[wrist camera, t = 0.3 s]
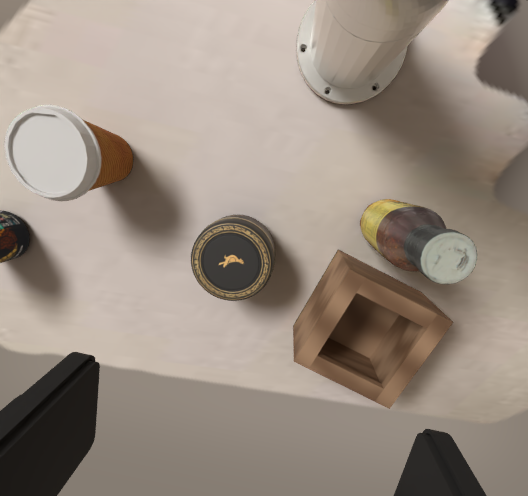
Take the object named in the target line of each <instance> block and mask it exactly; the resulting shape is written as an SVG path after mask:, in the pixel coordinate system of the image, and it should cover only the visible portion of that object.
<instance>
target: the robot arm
mask: <svg viewBox="0 0 528 496" xmlns="http://www.w3.org/2000/svg"><path fill="white" fill-rule="evenodd" d="M448 1H449V0H314V2H313V3H312V4H311V5H310V7H309V8H308V10H307V11H306V13H305V15H304V17H303V19H302V22H301V24H300V27H299V31H298V36H297V45H296V51H297V61H298V65H299V69H300V72H301V74H302V76H303V78H304V80H305V82H306V83H307V84H308V86H309V87H310V88H311V89H312V90H313V91H314V92H315V93H316V94H317V95H318V96H320V97H322V98H323V99H325V100H327V101H330V102H333V103H337V104H356V103H360V102H363V101H366V100H368V99H370V98H372V97H374V96H376V95H377V94H378V93H380V92H381V91H382V90H384V89H385V88H386V87H387V86H388V85H389V84H390V83H391V81H392V80H393V79H394V78H395V76H396V75H397V73H398V72H399V70H400V68H401V66H402V64H403V61H404V58H405V56H406V52H407V46H408V44H409V43H410V42H411V41H412V40H413V39H414V38H415V37H416V36H417V35H418V34H419V33H420V32H421V31H422V30H423V29H424V28H425V27H426V26H427V25H428V23H429V22H430V21H431V20H432V19H433V18H434V17H435V16H436V15H437V14H438V13H439V12H440V11H441V10H442V8H443V7H444V6H445V5H446V4H447V2H448ZM302 49H305V52H301V50H302ZM372 87H375V88H376V90H375V91H374V90H372ZM326 90H328V91H329V94H326V93H325V91H326ZM99 368H100V365H99V363H98V362H95V357H94V356H92V355H87V354H83V353H78V352H72V353H71V354H69V355H68V356H67V357H66V358H64V359H63V360H62V361H61V362H60V363H59V364H57V365H56V366H55V367H54V368H53V369H51V370H50V371H49V372H48V373H47V374H46V375H44V376H43V377H42V378H41V379H40V380H38V381H37V382H36V383H35V384H34V385H33V386H31V387H30V388H29V389H28V390H27V391H26V392H24V393H23V394H22V395H20V396H18V397H17V398H15V399H14V400H13V401H11V402H10V403H9V404H8V405H7V406H6V407H5V408H3V409H2V410H1V411H0V496H57V495H58V493H59V492H60V491H61V489H62V488H63V486H64V485H65V484H66V482H67V481H68V479H69V478H70V477H71V475H72V474H73V472H74V471H75V470H76V468H77V467H78V465H79V464H80V462H81V461H82V460H83V458H84V457H85V456H86V454H87V453H88V451H89V450H90V448H91V446H92V444H93V442H94V438H95V430H96V429H95V428H96V414H97V399H98V384H99ZM394 496H486V494H485V492H484V491H483V489H482V488H481V486H480V484H479V483H478V481H477V479H476V477H475V476H474V474H473V472H472V471H471V469H470V467H469V465H468V464H467V462H466V460H465V459H464V457H463V455H462V454H461V452H460V450H459V449H458V447H457V445H456V443H455V442H454V440H453V438H452V437H451V436H450V435H449V434H448V433H444V432H439V431H435V430H430V429H425V430H424V431H423V433H419V434H417V436H416V439H415V442H414V444H413V447H412V449H411V452H410V454H409V457H408V460H407V462H406V465H405V468H404V470H403V473H402V475H401V478H400V481H399V483H398V486H397V489H396V491H395V494H394Z"/></svg>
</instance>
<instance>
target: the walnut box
mask: <svg viewBox="0 0 528 496" xmlns="http://www.w3.org/2000/svg"><path fill="white" fill-rule="evenodd" d="M452 323H453V322H452V321H451V320H450V319H449V318H448V317H447V316H446V315H445V314H444V313H443V312H442V311H441V310H440V309H439V308H437V307H436V306H435V305H434V304H433V303H432V302H431V301H430V300H429V299H428V298H427V297H426V296H425V295H424V294H423V293H422V292H420V291H418V290H416V289H414V288H412V287H410V286H408V285H406V284H404V283H402V282H400V281H398V280H396V279H395V278H393V277H391V276H389V275H387V274H385V273H383V272H381V271H379V270H377V269H375V268H373V267H371V266H369V265H367V264H365V263H363V262H361V261H359V260H357V259H356V258H354V257H352V256H350V255H348V254H346V253H344V252H342V251H340V250H338V251H337V252H336V254H335V256H334V257H333V259H332V261H331V263H330V264H329V266H328V268H327V269H326V271H325V273H324V275H323V276H322V278H321V280H320V281H319V283H318V285H317V286H316V288H315V290H314V292H313V293H312V295H311V297H310V298H309V300H308V302H307V303H306V305H305V307H304V309H303V310H302V312H301V314H300V315H299V317H298V319H297V320H296V322H295V324H294V326H293V336H294V362H296V363H298V364H300V365H302V366H304V367H306V368H308V369H310V370H312V371H314V372H316V373H318V374H320V375H322V376H324V377H326V378H328V379H330V380H332V381H334V382H336V383H339V384H341V385H343V386H345V387H347V388H349V389H351V390H353V391H355V392H357V393H359V394H361V395H363V396H365V397H367V398H369V399H371V400H373V401H375V402H377V403H379V404H381V405H383V406H385V407H387V408H389V409H390V407H391V406H392V405H393V403H394V402H395V400H396V399H397V398H398V396H399V395H400V394H401V392H402V391H403V390H404V388H405V387H406V386H407V384H408V383H409V382H410V380H411V379H412V377H413V376H414V375H415V373H416V372H417V371H418V369H419V368H420V367H421V365H422V364H423V363H424V361H425V360H426V358H427V357H428V356H429V354H430V353H431V352H432V350H433V349H434V348H435V346H436V345H437V344H438V342H439V341H440V339H441V338H442V337H443V335H444V334H445V333H446V331H447V330H448V329H449V327H450V326H451V325H452Z"/></svg>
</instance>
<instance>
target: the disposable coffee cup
mask: <svg viewBox="0 0 528 496" xmlns="http://www.w3.org/2000/svg"><path fill="white" fill-rule="evenodd" d="M5 155H6V159H7V162H8V165H9V167H10V169H11V171H12V173H13V174H14V176H15V177H16V178H17V180H18V181H19V182H20V183H21V184H22V185H23V186H24V187H25V188H27V189H28V190H30V191H31V192H33V193H35V194H38V195H40V196H42V197H45V198H47V199H50V200H55V201H69V200H73V199H77V198H78V197H80V196H82V195H84V194H85V193H86V192H87V191H89V190H92V189H95V188H99V187H102V186H104V185H107V184H110V183H114V182H117V181H120V180H122V179H124V178H125V177H126V176H127V175H128V174H129V173H130V171H131V169H132V165H133V154H132V151H131V149H130V146H129V145H128V144H127V142H126V141H125V140H124V139H123V138H121V137H120V136H118V135H115V134H113V133H111V132H109V131H106V130H104V129H102V128H100V127H98V126H95V125H93V124H91V123H89V122H86V121H84V120H83V119H81V118H80V117H79V116H77V115H76V114H75V113H73V112H72V111H70V110H68V109H66V108H63V107H60V106H56V105H40V106H36V107H33V108H31V109H28V110H26V111H23V112H22V113H20V114H19V115H17V116H16V117H15V118H14V120H13V121H12V122H11V124H10V125H9V127H8V130H7V132H6V137H5Z"/></svg>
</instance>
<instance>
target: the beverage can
mask: <svg viewBox="0 0 528 496" xmlns="http://www.w3.org/2000/svg"><path fill="white" fill-rule="evenodd" d="M28 246H29V232H28V229H27V227H26V225H25V224H24V223H23V222H22V221H21V219H20V218H18V217H17V216H16V215H14V214H12V213H10V212H7V211H0V263H2V262H5V261H8V260H11V259H14V258H17V257H19V256H21V255H22V254H24V252H25V251H26V250H27V248H28Z"/></svg>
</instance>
